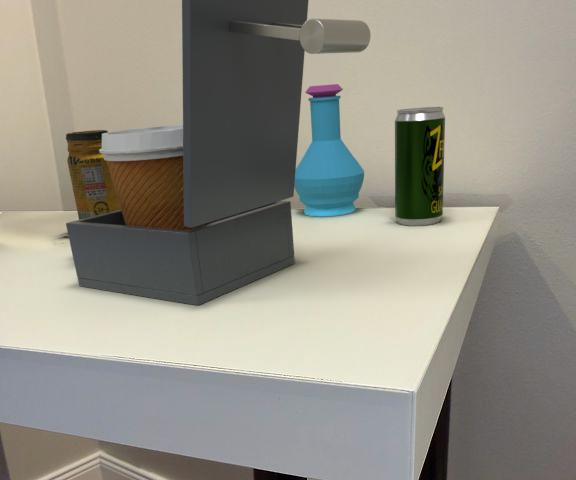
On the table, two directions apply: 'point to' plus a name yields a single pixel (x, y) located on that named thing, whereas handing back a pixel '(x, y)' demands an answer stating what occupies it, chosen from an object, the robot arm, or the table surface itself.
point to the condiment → (90, 175)
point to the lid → (247, 98)
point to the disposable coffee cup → (148, 175)
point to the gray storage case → (182, 254)
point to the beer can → (419, 165)
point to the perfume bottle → (327, 160)
